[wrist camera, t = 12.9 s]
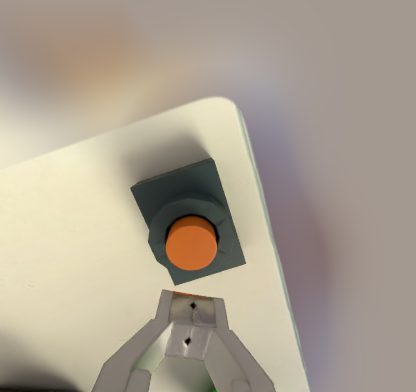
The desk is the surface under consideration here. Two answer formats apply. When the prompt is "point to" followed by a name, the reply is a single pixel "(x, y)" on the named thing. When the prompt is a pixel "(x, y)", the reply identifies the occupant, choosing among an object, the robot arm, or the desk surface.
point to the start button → (191, 243)
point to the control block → (189, 206)
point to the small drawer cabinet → (3, 391)
